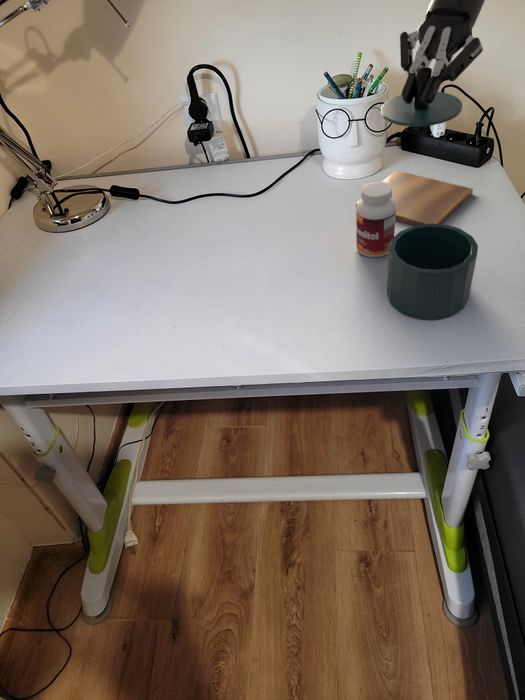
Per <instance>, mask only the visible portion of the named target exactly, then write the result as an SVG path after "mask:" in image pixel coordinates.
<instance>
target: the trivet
mask: <svg viewBox="0 0 525 700" xmlns="http://www.w3.org/2000/svg"><path fill="white" fill-rule="evenodd" d="M381 182H386V183H388V184H390V185H391V186H392V198H393V199H394V201H395V203H396V215H395V221H399V222H403V223H406V224H409V225H412V226H415V225H422V224H429V223H431V224H444V222H445V221H446V220H448V218H449V217H450V216H451V215H453V214H454V213H455V212H456V211H457V209H458V208H460V207H461V206H462V204H464V203H465V202H466V201H467V199H469V198H470V197H471V196H472V195H473V191H474V188H470V187H466V186H463V185H458V184H454V183H450V182H446V181H441V180H437V179H434V178H430V177H425V176H423V175H422V176H421V175H418V174H413V173H409V172H405V171H401V170H397V169H395V170H394V171H392V172H391V174H390V175H388V176H387V177H386V178H385V179H384V180H382V181H381ZM358 202H359V200H357V202H355V208H356V207H357V203H358Z"/></svg>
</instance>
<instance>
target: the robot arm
mask: <svg viewBox="0 0 525 700" xmlns="http://www.w3.org/2000/svg"><path fill="white" fill-rule="evenodd" d="M485 1H486V0H431V1H430V3H429V5H428V7H427V10H426V14H425V18H424V20H423V21H422V23H421V24H420V25H419V26H418V28H417V30H415V31H413V32H410V33H408V32H407V31H402V32H401V33H400V35H399V49H400V51H399V52H400V54H399V55H400V67H401V69H402V70H403V72H404V73H405V75H406V76H407V78H406V80H405V83H404V86H403V88H402V90H401V95H402V96H403V100H404V102H405V103H407V104H411V102H412V100H413V97H414V89H415V75H416V70H417V69H419V68H423V67H428V68H430V65H431V64H432V62H433V60H435V63H434V66H433V69H432V76H431V77H429V79H428V81H427V84H426V86H425V89H424V91H423V93H422V96H421V98H420V103H421V104H422V106H425V107H428V105H429V103H432V102H433V101H434V99H435V96H436V94H437V92H439V89H440V88H441V85H442V84H443V83H444V82H447V81H450V82H454V81H456V80H457V79H458V78H459V77H460V75H462V74H463V72H464V71H466V69H468V67H470V66H471V64H472V63H473V62H474V61H475V60H476V59H477V58H478V57H479V56H480V55H481V54H482V53H483V51H484V48H483V44H482V41H481V40H480V38H479V37H478V36H477V37H474V36H473V28H474V26H475V24H476V22H477V21H478V17H479V15H480V14H481V11H482V8H483V5H484V4H485ZM417 42H418V43H419V46H418V48H417V50H416V53H415V55H413V53H414V51H413V50H414V49H415V48H416V46H417ZM460 50H461V51H460ZM459 51H460V52H459ZM458 52H459V53H458ZM457 53H458V54H457ZM456 54H457V55H456ZM454 55H456V57H454ZM453 57H454V59H453Z"/></svg>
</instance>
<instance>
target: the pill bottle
mask: <svg viewBox="0 0 525 700" xmlns="http://www.w3.org/2000/svg"><path fill="white" fill-rule="evenodd" d="M358 201H359V202H358ZM358 201H357V202H358V203H357V202H356V203H357V207H356V206H355V208H356V209H355V212H356V213H355V214H356V215H355V216H356V220H355V221H356V223H355V224H356V225H355V226H356V229H355V230H356V231H355V234H356V236H355V237H356V240H355V242H356V243H355V244H356V245H355V246H356V250H357V252H358V253H359V254H361V255H363V256H365V257H369V258H381V257H385V256H386V255H389V247H390V243H391V240H392V238H393V237H395V232H396V231H395V229H396V220H395V215H396V203H395V201H394V199H393V198H392V186H391V185H390V184H388V183H386V182H382V181H378V180H377V181H371V182H368V183H366V184H364V185H363V186H362V188H361V191H360V199H359V200H358Z"/></svg>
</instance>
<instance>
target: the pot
mask: <svg viewBox="0 0 525 700" xmlns="http://www.w3.org/2000/svg"><path fill="white" fill-rule="evenodd" d="M478 250H479V244H478V243H477V241H476V240H475V238H474V237H473V235H471V234H469V233H468V232H466V231H465V230H463V229H461V228H460V227H456V226H453V225H449V224H445V223H442V224H431V223H429V224H422V225H412V226H410V227H406V228H405V229H402V230H400V231H398V233H396V235H394V237H393V238H392V240H391V243H390V247H389V253H388V257H387V258H388V260H387V261H388V262H387V284H386V294H387V300H388V301H389V303H390V305H391V306H392V307H393V309H394V310H396V311H397V312H399V313H400V314H402V315H404V316H406V317H409V318H412V319H416V320H421V321H422V320H423V321H437V320H443V319H448V318H451V317H452V316H454V315H457V314H459V312H461V311H462V310H463V309H464V308H465V307H466V305H467V303H468V301H469V298H470V293H471V289H472V283H473V278H474V272H475V268H476V263H477V257H478Z"/></svg>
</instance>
